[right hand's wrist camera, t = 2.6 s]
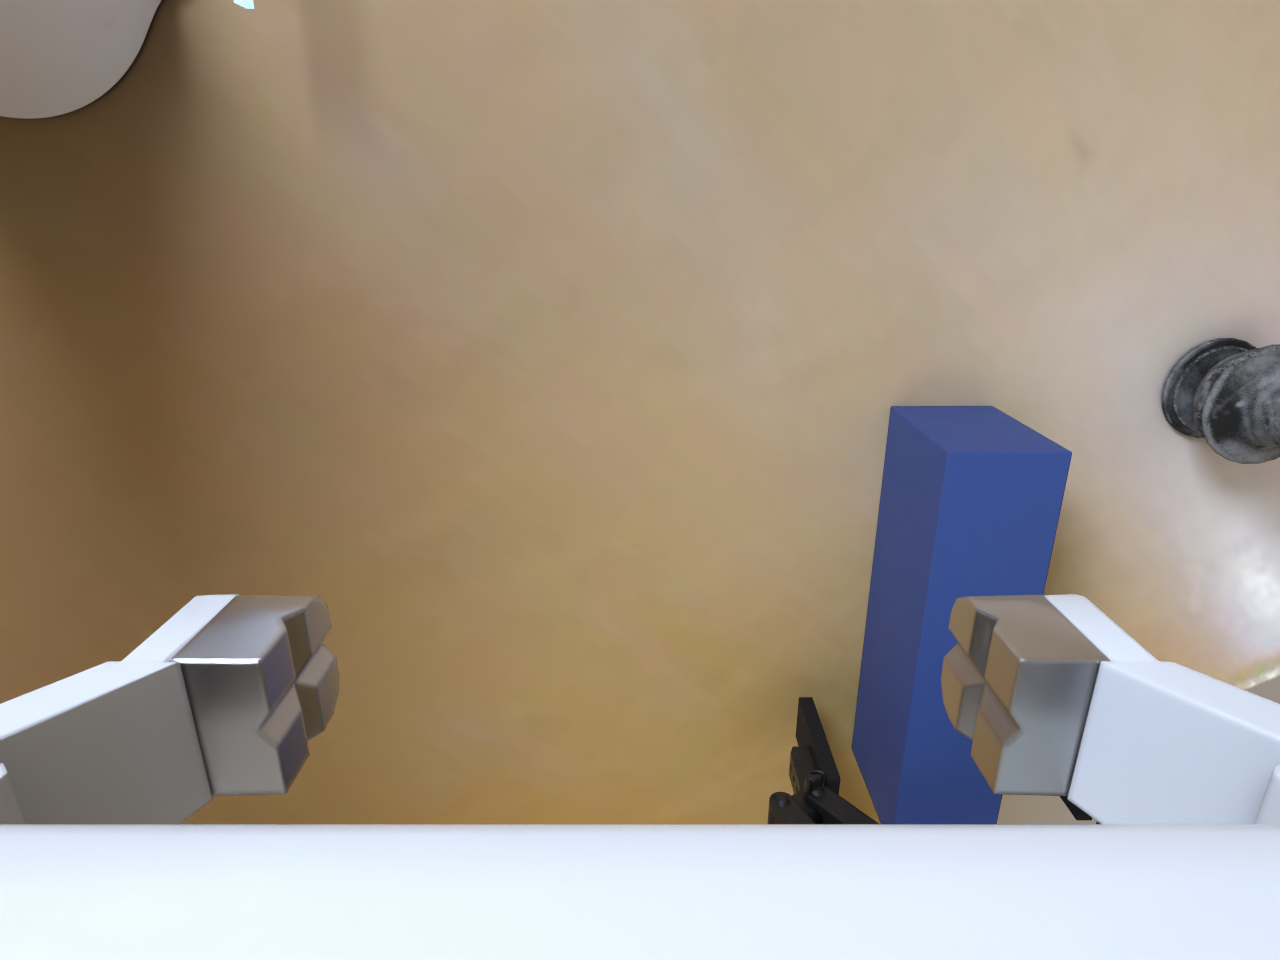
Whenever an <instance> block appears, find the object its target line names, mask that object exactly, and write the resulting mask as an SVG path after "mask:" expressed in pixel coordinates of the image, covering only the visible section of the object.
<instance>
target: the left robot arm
mask: <svg viewBox="0 0 1280 960" xmlns="http://www.w3.org/2000/svg"><path fill="white" fill-rule="evenodd" d="M796 739H797V742H798V745H799V747H793V748H792V751H791V757H790V769H789V776H790V780H791V784H792V787H793V791H794V795H792V796H791V795H789V794H787V793H785V792H776V793H774V794H772V795H771V796H770V800H769V814H768V824H878V823H877V822H875V821H874V820H873V819H871V818H870V817H868V816H867V815H866V814H864V813H863V812H861V811H860V810H859V809H857V808H856V807H854V806H853V805H852V804H850V803H849V802H847V801H846V800H845V799H843V798H842V797H840V796H839V795H838V794H839V785H840V776H839V773H838V770H837V767H836V765H835V762H834V759H833V756H832V753H831V750H830V747H829V744H828V742H827V739H826V736H825V733H824V730H823V727H822V724H821V722H820V719H819V716H818V713H817V710H816V707H815V704H814V701H813V699H812V697H799V704H798V716H797V728H796ZM1060 797H1061V799H1062V800H1063V802H1064V803H1065V804H1066V806H1067V807H1068V809H1069V810H1070V811H1071V813H1072V814H1073V816H1074V817H1075V819H1076V820H1092V817H1091V816H1089V815H1088V814H1087V813H1085V812H1084V811H1083V810H1081V809H1080V808H1079V807H1077V806H1076V805H1075V804H1073V803H1072V802H1070V801H1069V800H1068V799H1067V798H1068V796H1060ZM1096 824H1100V823H1099V822H1098V821H1097V823H1096Z"/></svg>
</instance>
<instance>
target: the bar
mask: <svg viewBox="0 0 1280 960" xmlns="http://www.w3.org/2000/svg"><path fill="white" fill-rule="evenodd" d="M1071 456H1072V452H1070V451H1069V450H1067V449H1065V448H1064V447H1062V446H1060V445H1058V444H1057V443H1055V442H1053V441H1052V440H1050V439H1048V438H1046V437H1045V436H1043V435H1041V434H1039V433H1038V432H1036V431H1034V430H1033V429H1031V428H1029V427H1027V426H1026V425H1024V424H1022V423H1021V422H1019V421H1017V420H1015V419H1014V418H1012V417H1010V416H1008V415H1007V414H1005V413H1003V412H1002V411H1000V410H998V409H996V408H995V407H993V406H892V407H891V411H890V420H889V428H888V437H887V446H886V454H885V463H884V472H883V480H882V489H881V498H880V506H879V515H878V524H877V532H876V541H875V550H874V559H873V567H872V576H871V585H870V593H869V602H868V611H867V619H866V628H865V637H864V645H863V654H862V663H861V671H860V680H859V689H858V697H857V706H856V715H855V723H854V732H853V741H852V751H853V753H854V756H855V758H856V761H857V763H858V766H859V768H860V771H861V774H862V776H863V779H864V781H865V784H866V786H867V789H868V791H869V794H870V797H871V799H872V802H873V804H874V807H875V809H876V812H877V814H878V817H879V820H880V822H881V824H996V823H997V819H998V814H999V809H1000V804H1001V799H1002V794H994V793H993V791H992V789H991V788H990V786H989V784H988V783H987V781H986V780H985V778H984V776H983V775H982V773H981V771H980V770H979V768H978V766H977V765H976V763H975V761H974V760H973V758H972V757H971V749H972V743H973V741H972V740H971V739H969V738H967V737H966V736H964V735H963V734H961V733H959V732H958V731H956V730H955V728H954V726H953V724H952V723H951V721H950V719H949V717H948V715H947V712H946V709H945V706H944V703H943V696H942V686H941V676H942V667H943V659H944V657H945V656H946V655H947V654H948V653H949V651H950V650H951V649H952V648H953V647H954V646H955V645H956V644H957V643H958V641H957V640H956V638H955V637H954V635H953V634H952V632H951V631H950V629H949V622H950V616H951V610H952V608H953V606H954V603H955V601H956V599H957V598H961V597H967V596H1009V595H1043V593H1044V588H1045V583H1046V579H1047V574H1048V569H1049V564H1050V559H1051V554H1052V549H1053V544H1054V539H1055V534H1056V530H1057V525H1058V520H1059V515H1060V510H1061V505H1062V500H1063V495H1064V490H1065V485H1066V481H1067V476H1068V471H1069V466H1070V461H1071Z"/></svg>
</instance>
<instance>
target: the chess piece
mask: <svg viewBox="0 0 1280 960" xmlns="http://www.w3.org/2000/svg"><path fill="white" fill-rule="evenodd" d="M1162 407H1163V411H1164V414H1165V416H1166V419H1167V420H1168V422H1169V423H1170V424H1171V425H1172V426H1173V428H1175V429H1176V430H1178V431H1180V432H1181V433H1183V434H1185V435H1188V436H1192V437H1196V438H1204V437H1205V438H1206V440H1207V443H1208V444H1209V445H1210V446H1211V448H1212V449H1213V450H1214V451H1215V452H1216V453H1217V454H1219V455H1220V456H1222V457H1224V458H1225V459H1227V460H1230V461H1234V462H1238V463H1242V464H1257V463H1262V462H1266V461H1270V460H1274V459H1277V458H1279V457H1280V345H1270V346H1266V347H1263V348H1256V347H1254V346H1252V345H1251V344H1249V343H1248V342H1246V341H1242V340H1238V339H1234V338H1219V339H1215V340H1212V341H1208V342H1205V343H1203V344H1201V345H1199V346H1197V347H1195V348H1193V349H1192V350H1190V351H1189V352H1188V353H1187V354H1186V355H1184V356H1183V357H1182V358H1181V359H1180V360H1179V361H1178V362H1177V364H1176V365H1175V366H1174V367H1173V369H1172V370H1171V372H1170V374H1169V376H1168V378H1167V380H1166V382H1165V384H1164V389H1163V394H1162Z"/></svg>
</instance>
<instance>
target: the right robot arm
mask: <svg viewBox="0 0 1280 960" xmlns="http://www.w3.org/2000/svg"><path fill="white" fill-rule="evenodd" d="M161 1H162V0H0V116H3V117H10V118H21V119H36V118H47V117H53V116H58V115H62V114H66V113H69V112H72V111H75V110H77V109H79V108H82V107H84V106H86V105H88V104H90V103H91V102H93V101H95V100H96V99H98V98H99V97H101V96H102V95H103V94H105V93H106V92H107V91H108V90H110V89H111V88H112V87H113V86H114V85H115V84H116V83H117V82H118V81H119V80H120V79H121V77H122V76H123V75H124V74H125V73H126V71H127V70H128V68H129V67H130V66H131V64H132V63H133V61H134V59H135V58H136V56H137V54H138V52H139V50H140V48H141V46H142V44H143V42H144V39H145V37H146V34H147V32H148V29H149V26H150V24H151V21H152V19H153V16H154V14H155V12H156V10H157V8H158V6H159V4H160V2H161ZM234 3H236V4H238V5H241V6H243V7H245V8H254V5H253V0H234ZM331 628H332V627H331V622H330V617H329V612H328V607H327V604H326V603H325V602H324V601H323V599H322V598H321V597H320V596H273V595H240V594H224V595H201V596H195V597H194V598H193V599H192V600H191V601H190V602H189V603H187V604H186V605H185V606H184V607H183V608H182V609H181V610H179V611H178V612H177V613H176V614H175V615H174V616H173V617H171V618H170V619H169V620H168V621H167V622H166V623H165V624H163V625H162V626H161V627H160V628H159V629H158V630H157V631H155V632H154V633H153V634H152V635H151V636H150V637H149V638H147V639H146V640H145V641H144V642H143V643H142V644H141V645H139V646H138V647H137V648H136V649H135V650H134V651H132V652H131V653H130V654H129V655H128V656H127V657H126V658H124V659H123V660H122V661H110V662H105V663H103V664H100V665H98V666H95V667H93V668H90V669H88V670H85V671H83V672H80V673H77V674H75V675H72V676H70V677H67V678H65V679H62V680H60V681H57V682H55V683H52V684H50V685H47V686H44V687H42V688H39V689H37V690H34V691H32V692H29V693H27V694H24V695H22V696H19V697H16V698H14V699H11V700H9V701H6V702H4V703H1V704H0V960H1280V704H1278V703H1276V702H1273V701H1271V700H1268V699H1266V698H1263V697H1261V696H1258V695H1256V694H1253V693H1251V692H1248V691H1246V690H1243V689H1240V688H1238V687H1235V686H1233V685H1230V684H1228V683H1225V682H1223V681H1220V680H1218V679H1215V678H1213V677H1210V676H1208V675H1205V674H1202V673H1200V672H1197V671H1195V670H1192V669H1190V668H1187V667H1185V666H1182V665H1180V664H1177V663H1175V662H1171V661H1158V660H1157V659H1156V658H1154V657H1153V656H1152V655H1151V654H1150V653H1149V652H1148V651H1146V650H1145V649H1144V648H1143V647H1142V646H1141V645H1140V644H1138V643H1137V642H1136V641H1135V640H1134V639H1133V638H1132V637H1130V636H1129V635H1128V634H1127V633H1126V632H1125V631H1124V630H1123V629H1121V628H1120V627H1119V626H1118V625H1117V624H1116V623H1115V622H1113V621H1112V620H1111V619H1110V618H1109V617H1108V616H1107V615H1105V614H1104V613H1103V612H1102V611H1101V610H1100V609H1099V608H1097V607H1096V606H1095V605H1094V604H1093V603H1092V602H1091V601H1089V600H1088V599H1087V598H1086V597H1084V596H1080V595H1077V594H1061V595H1009V596H967V597H961V598H957V599H956V601H955V603H954V606H953V608H952V610H951V616H950V622H949V629H950V631H951V632H952V634H953V635H954V637H955V638H956V640H957V641H958V643H957V644H956V645H955V646H954V647H953V648H952V649H951V650H950V651H949V653H948V654H947V655H946V656H945V657H944V659H943V667H942V676H941V686H942V696H943V703H944V706H945V709H946V712H947V715H948V717H949V719H950V721H951V723H952V724H953V726H954V728H955V730H956V731H958V732H959V733H961V734H963V735H964V736H966V737H967V738H969V739H971V740H972V741H973V743H972V749H971V757H972V758H973V760H974V761H975V763H976V765H977V766H978V768H979V770H980V771H981V773H982V775H983V776H984V778H985V780H986V781H987V783H988V784H989V786H990V788H991V789H992V791H993V793H994V794H1013V795H1049V796H1068V798H1067V799H1068V800H1069V801H1070V802H1072V803H1073V804H1075V805H1076V806H1077V807H1079V808H1080V809H1081V810H1083V811H1084V812H1085V813H1087V814H1088V815H1089V816H1091V817H1092V818H1094V819H1095V820H1096V821H1098V822H1099V823H1100V824H180V823H181V822H183V821H184V820H185V819H187V818H188V817H189V816H191V815H192V814H193V813H195V812H196V811H198V810H199V809H200V808H202V807H203V806H204V805H206V804H207V803H208V802H210V801H211V800H212V796H231V795H266V794H286V793H287V791H288V790H289V788H290V786H291V785H292V783H293V781H294V780H295V778H296V776H297V775H298V773H299V771H300V770H301V768H302V766H303V765H304V763H305V761H306V760H307V758H308V757H309V749H308V743H307V741H308V740H309V739H311V738H313V737H314V736H316V735H317V734H319V733H321V732H322V731H324V730H325V728H326V726H327V724H328V723H329V721H330V719H331V717H332V715H333V712H334V708H335V704H336V700H337V696H338V687H339V673H338V666H337V659H336V657H335V656H334V655H333V654H332V653H331V651H330V650H329V649H328V648H327V647H326V646H325V645H324V644H323V643H322V641H323V640H324V638H325V637H326V635H327V634H328V632H329V631H330V629H331Z"/></svg>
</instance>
